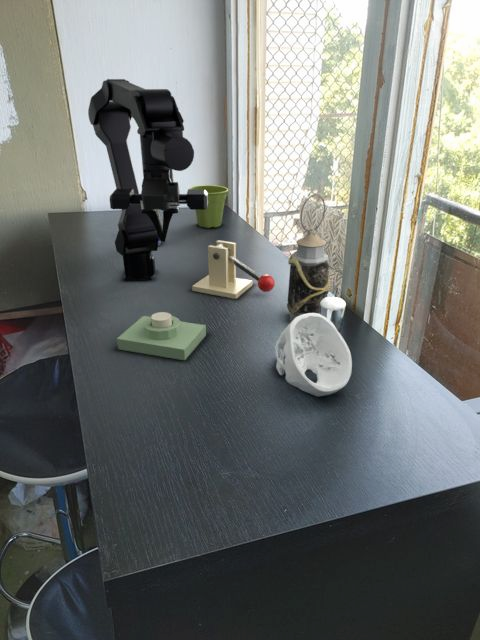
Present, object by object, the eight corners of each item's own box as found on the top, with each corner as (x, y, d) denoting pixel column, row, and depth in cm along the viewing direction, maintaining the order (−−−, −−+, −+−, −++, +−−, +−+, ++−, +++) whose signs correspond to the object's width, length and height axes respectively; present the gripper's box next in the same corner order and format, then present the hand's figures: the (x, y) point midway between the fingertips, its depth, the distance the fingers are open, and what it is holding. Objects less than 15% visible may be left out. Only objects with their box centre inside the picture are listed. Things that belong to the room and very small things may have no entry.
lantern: (305, 307, 112) (313, 187, 99) (335, 319, 107) (347, 194, 94) (277, 319, 106) (282, 193, 94) (307, 332, 101) (316, 202, 89)
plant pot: (227, 231, 160) (226, 193, 154) (188, 230, 160) (186, 192, 154) (230, 220, 170) (229, 185, 165) (193, 219, 170) (192, 184, 165)
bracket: (252, 285, 122) (252, 242, 117) (236, 299, 115) (235, 254, 110) (210, 277, 126) (209, 235, 120) (192, 290, 118) (189, 246, 113)
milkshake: (344, 338, 99) (349, 289, 95) (338, 350, 95) (344, 300, 90) (321, 334, 101) (325, 285, 96) (314, 346, 96) (318, 296, 91)
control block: (118, 349, 94) (115, 329, 92) (144, 325, 102) (142, 307, 100) (184, 360, 91) (183, 340, 89) (206, 335, 99) (205, 316, 97)
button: (148, 327, 94) (147, 318, 93) (157, 319, 97) (156, 310, 96) (166, 330, 93) (166, 321, 92) (175, 322, 96) (174, 313, 95)
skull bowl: (305, 340, 95) (330, 302, 85) (338, 409, 89) (369, 376, 79) (253, 352, 91) (273, 312, 80) (284, 424, 85) (310, 392, 75)
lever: (272, 291, 118) (280, 278, 115) (265, 297, 114) (273, 284, 112) (217, 253, 119) (224, 239, 116) (209, 258, 116) (216, 244, 113)
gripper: (99, 169, 92) (109, 254, 100) (204, 170, 94) (207, 254, 101) (110, 158, 102) (119, 236, 110) (206, 159, 103) (209, 237, 111)
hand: (163, 241), depth 108 cm, fingers closed
